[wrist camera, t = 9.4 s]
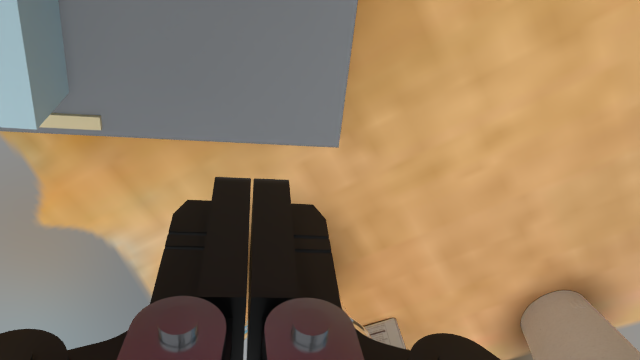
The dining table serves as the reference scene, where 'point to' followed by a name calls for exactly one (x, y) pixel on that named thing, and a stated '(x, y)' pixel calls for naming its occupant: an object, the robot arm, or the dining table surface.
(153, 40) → the display board
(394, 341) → the supplement box
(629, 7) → the dining table surface
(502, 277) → the dining table surface
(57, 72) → the carton
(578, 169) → the dining table surface
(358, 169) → the dining table surface
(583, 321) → the dixie cup
